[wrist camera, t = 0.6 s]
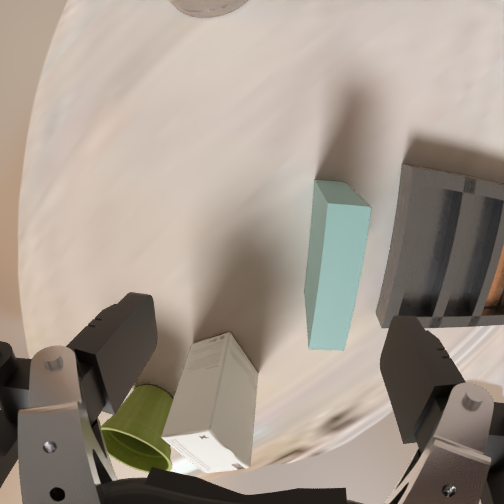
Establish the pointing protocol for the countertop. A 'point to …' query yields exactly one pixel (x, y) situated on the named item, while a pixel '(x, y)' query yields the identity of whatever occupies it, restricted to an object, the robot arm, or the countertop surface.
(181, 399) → the skincare box
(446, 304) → the rack
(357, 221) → the panel
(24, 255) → the countertop surface
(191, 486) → the robot arm
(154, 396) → the plant pot
